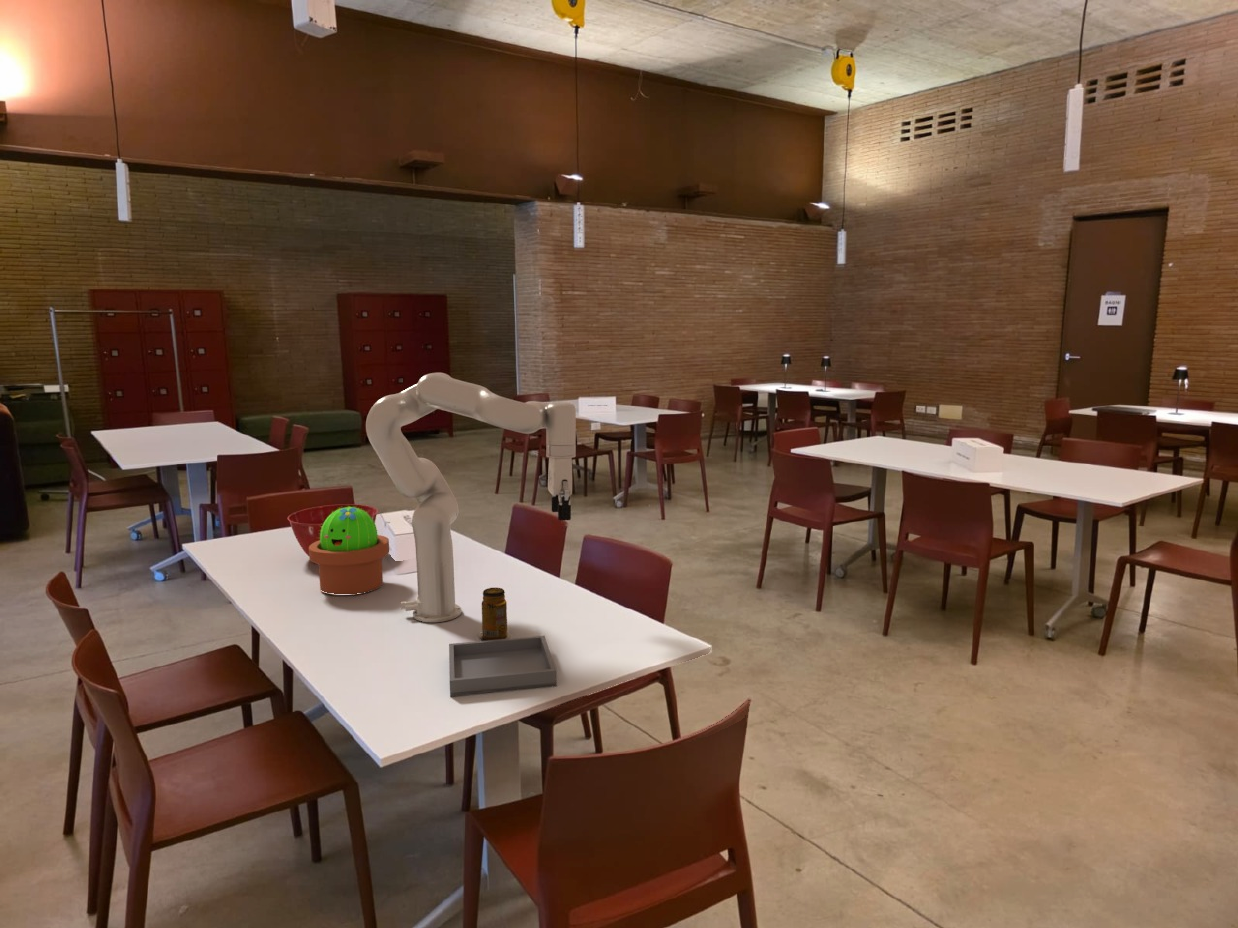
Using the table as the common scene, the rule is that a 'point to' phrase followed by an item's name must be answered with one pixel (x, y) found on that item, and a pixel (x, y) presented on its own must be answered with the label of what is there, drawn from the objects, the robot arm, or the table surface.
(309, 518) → the mixing bowl
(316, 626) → the table surface
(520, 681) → the tray
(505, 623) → the condiment
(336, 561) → the potted cactus
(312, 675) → the table surface
